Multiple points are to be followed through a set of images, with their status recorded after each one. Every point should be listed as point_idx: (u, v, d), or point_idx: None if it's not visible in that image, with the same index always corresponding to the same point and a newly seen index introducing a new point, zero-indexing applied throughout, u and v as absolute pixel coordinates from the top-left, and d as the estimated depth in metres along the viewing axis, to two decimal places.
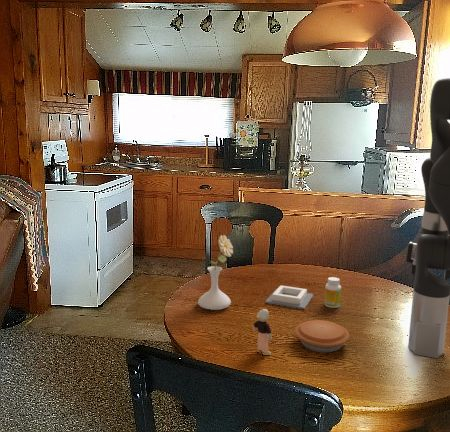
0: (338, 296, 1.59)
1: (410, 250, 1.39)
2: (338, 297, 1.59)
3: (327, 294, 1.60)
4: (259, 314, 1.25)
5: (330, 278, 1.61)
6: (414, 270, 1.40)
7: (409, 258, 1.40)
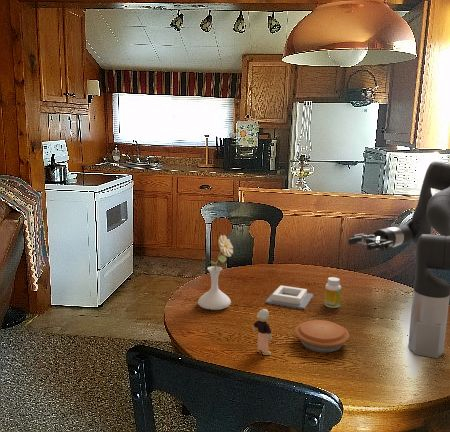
0: (338, 296, 1.59)
1: (361, 234, 1.73)
2: (338, 297, 1.59)
3: (327, 294, 1.60)
4: (259, 314, 1.25)
5: (330, 278, 1.61)
6: (352, 237, 1.69)
7: (356, 235, 1.72)
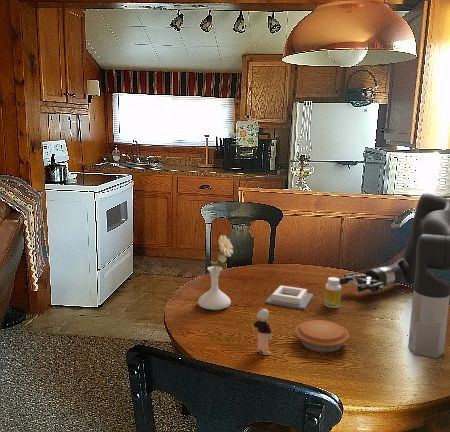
0: (338, 296, 1.59)
1: (352, 273, 1.74)
2: (338, 297, 1.59)
3: (327, 294, 1.60)
4: (259, 314, 1.25)
5: (330, 278, 1.61)
6: None
7: (347, 274, 1.73)
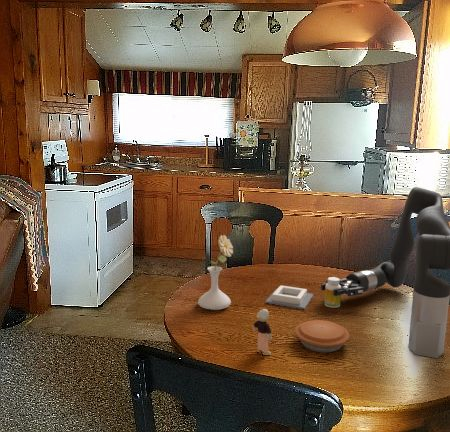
0: (338, 296, 1.59)
1: None
2: (338, 297, 1.59)
3: (327, 294, 1.60)
4: (259, 314, 1.25)
5: (330, 278, 1.61)
6: (325, 283, 1.63)
7: None
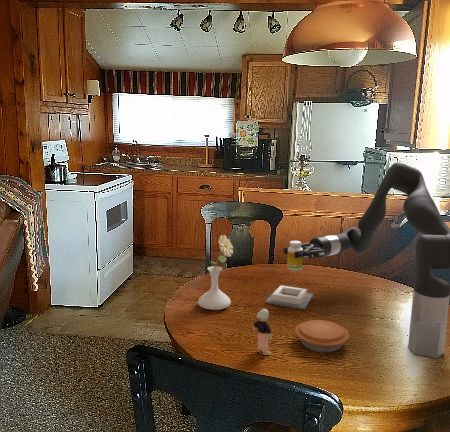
0: (300, 258, 1.62)
1: None
2: (299, 260, 1.62)
3: (289, 257, 1.63)
4: (259, 314, 1.25)
5: (292, 241, 1.63)
6: (288, 247, 1.66)
7: None
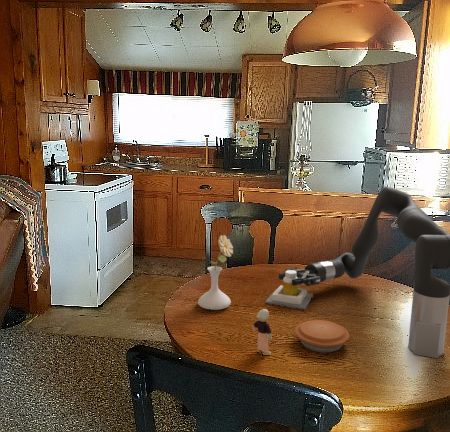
0: (295, 288, 1.64)
1: (292, 268, 1.73)
2: (295, 290, 1.64)
3: (284, 286, 1.64)
4: (259, 314, 1.25)
5: (287, 271, 1.65)
6: None
7: (287, 269, 1.72)
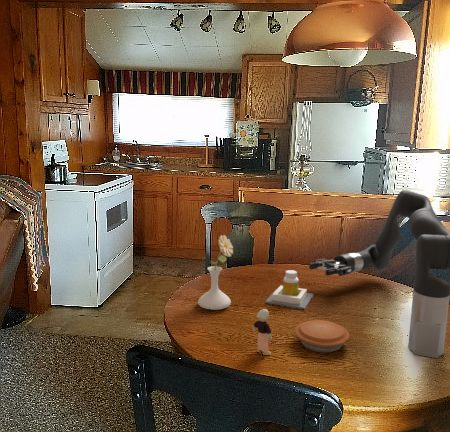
0: (295, 288, 1.64)
1: (322, 259, 1.79)
2: (295, 290, 1.64)
3: (285, 286, 1.64)
4: (259, 314, 1.25)
5: (288, 271, 1.65)
6: None
7: (317, 260, 1.78)
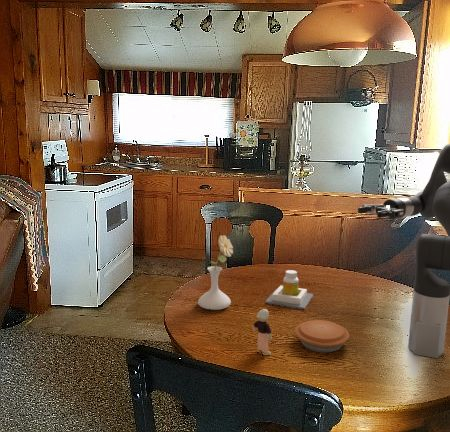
0: (295, 288, 1.64)
1: (370, 204, 1.71)
2: (295, 290, 1.64)
3: (285, 286, 1.65)
4: (259, 314, 1.25)
5: (288, 271, 1.65)
6: (362, 207, 1.67)
7: (365, 205, 1.70)
